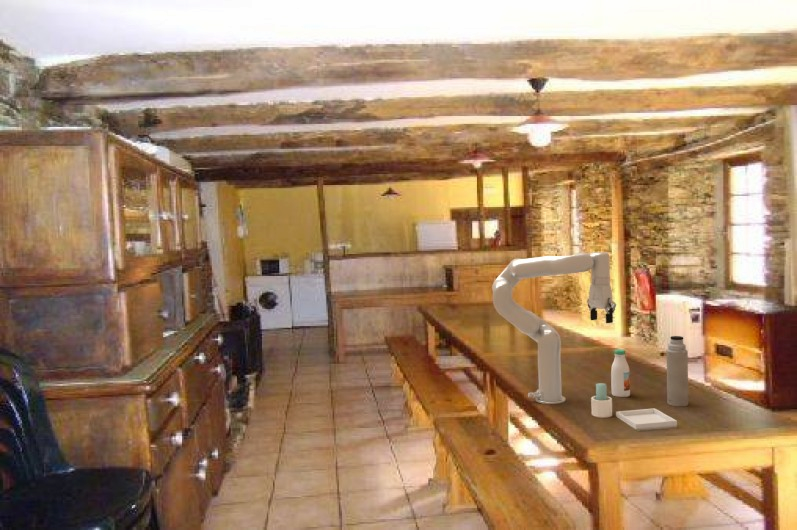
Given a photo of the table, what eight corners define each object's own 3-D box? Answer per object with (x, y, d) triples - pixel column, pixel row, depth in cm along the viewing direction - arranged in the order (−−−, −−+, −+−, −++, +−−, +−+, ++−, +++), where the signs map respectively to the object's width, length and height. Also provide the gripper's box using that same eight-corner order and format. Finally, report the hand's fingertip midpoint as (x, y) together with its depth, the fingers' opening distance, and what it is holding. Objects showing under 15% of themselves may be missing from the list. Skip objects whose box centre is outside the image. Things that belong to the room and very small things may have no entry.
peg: (599, 416, 252) (598, 386, 251) (594, 413, 256) (594, 383, 255) (608, 415, 252) (608, 385, 252) (604, 412, 256) (603, 382, 256)
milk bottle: (618, 398, 277) (617, 352, 275) (608, 393, 284) (606, 349, 283) (633, 396, 279) (633, 350, 277) (623, 391, 286) (622, 347, 285)
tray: (636, 431, 235) (635, 424, 235) (616, 417, 251) (616, 411, 251) (677, 427, 237) (677, 420, 237) (654, 414, 253) (654, 408, 252)
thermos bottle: (664, 401, 269) (662, 335, 267) (682, 400, 269) (681, 334, 267) (672, 406, 261) (671, 338, 259) (692, 405, 261) (691, 337, 259)
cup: (596, 419, 250) (596, 401, 249) (588, 413, 258) (588, 396, 257) (615, 417, 251) (615, 400, 250) (607, 412, 259) (606, 394, 258)
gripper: (580, 280, 279) (581, 319, 280) (607, 283, 263) (608, 325, 264) (594, 279, 281) (595, 318, 283) (621, 282, 265) (622, 323, 267)
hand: (601, 321), depth 273 cm, fingers open, 9 cm apart
